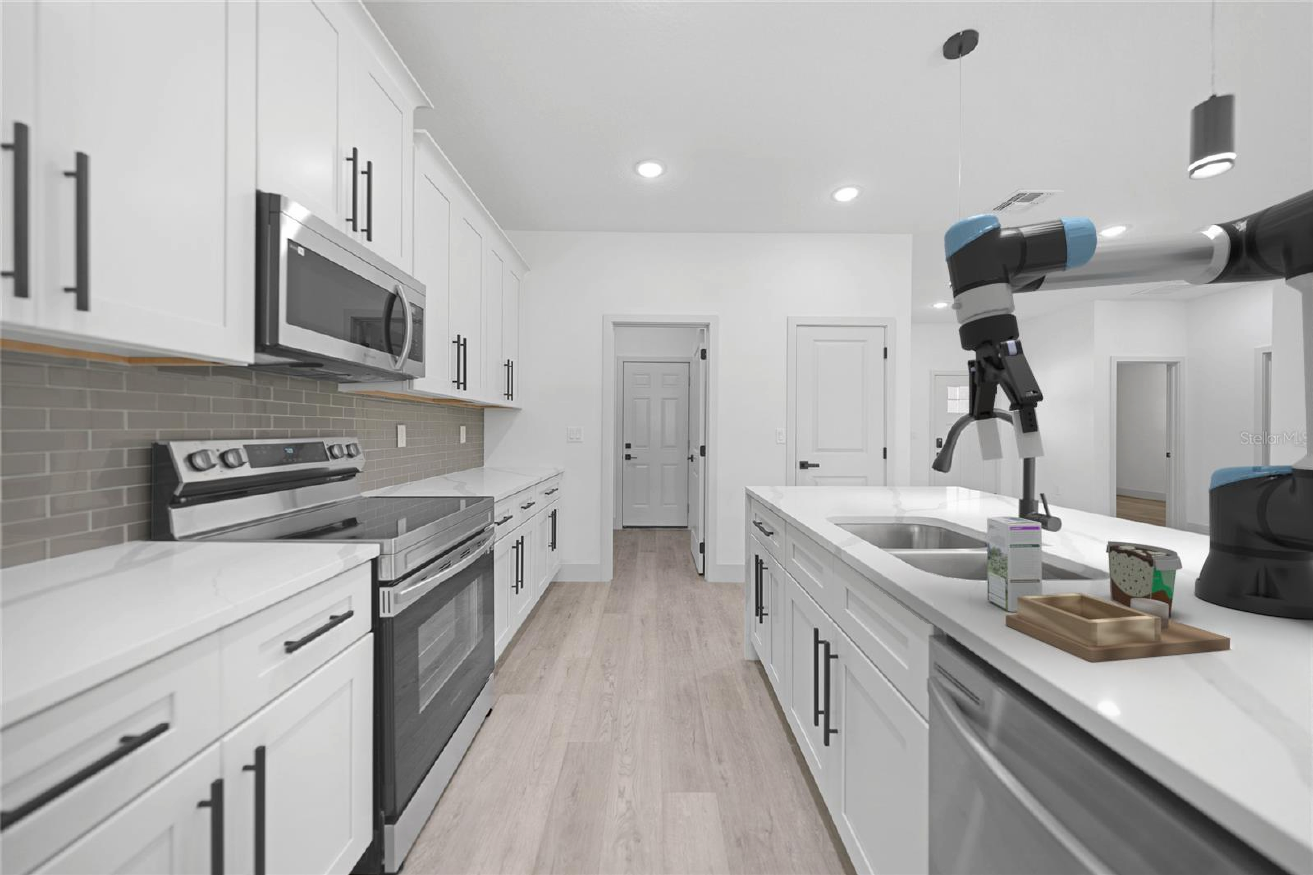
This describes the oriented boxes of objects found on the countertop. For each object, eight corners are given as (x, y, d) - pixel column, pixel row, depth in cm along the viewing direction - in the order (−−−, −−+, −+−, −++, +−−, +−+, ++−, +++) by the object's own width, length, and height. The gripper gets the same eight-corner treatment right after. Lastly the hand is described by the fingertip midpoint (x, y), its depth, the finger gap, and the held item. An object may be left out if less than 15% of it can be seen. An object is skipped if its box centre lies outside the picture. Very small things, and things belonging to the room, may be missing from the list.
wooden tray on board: (1127, 616, 84) (1127, 587, 83) (1230, 649, 71) (1230, 615, 71) (1005, 625, 80) (1006, 595, 79) (1091, 662, 67) (1091, 626, 67)
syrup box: (1043, 612, 85) (1044, 521, 85) (1006, 612, 85) (1007, 521, 85) (1020, 601, 91) (1020, 516, 91) (985, 601, 91) (985, 516, 91)
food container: (1204, 625, 80) (1205, 558, 80) (1156, 622, 81) (1156, 556, 81) (1146, 600, 92) (1147, 541, 92) (1105, 597, 93) (1105, 540, 93)
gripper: (935, 343, 94) (956, 462, 92) (990, 298, 70) (1019, 459, 68) (982, 335, 92) (1004, 457, 91) (1055, 287, 68) (1086, 452, 66)
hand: (1010, 458), depth 79 cm, fingers open, 13 cm apart
